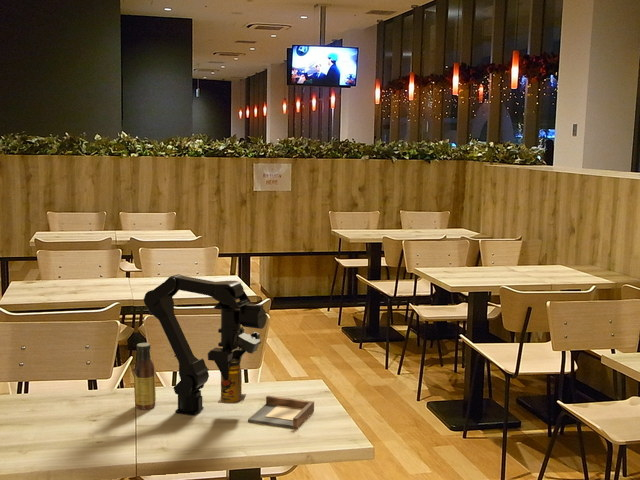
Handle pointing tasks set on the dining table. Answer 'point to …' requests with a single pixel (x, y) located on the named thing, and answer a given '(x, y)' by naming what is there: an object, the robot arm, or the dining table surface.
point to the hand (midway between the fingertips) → (230, 376)
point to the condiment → (232, 385)
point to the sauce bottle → (144, 378)
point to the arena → (283, 412)
